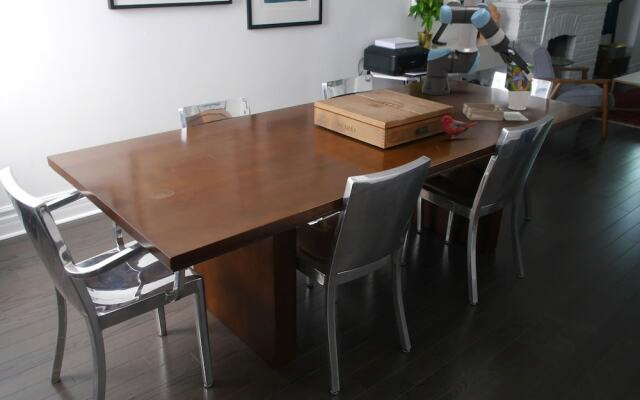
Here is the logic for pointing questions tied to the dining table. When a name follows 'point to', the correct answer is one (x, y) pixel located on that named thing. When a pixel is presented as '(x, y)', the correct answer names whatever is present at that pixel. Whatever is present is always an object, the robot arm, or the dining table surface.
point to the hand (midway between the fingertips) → (525, 76)
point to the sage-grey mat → (514, 116)
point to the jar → (518, 99)
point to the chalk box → (517, 78)
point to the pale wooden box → (483, 112)
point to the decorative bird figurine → (454, 126)
